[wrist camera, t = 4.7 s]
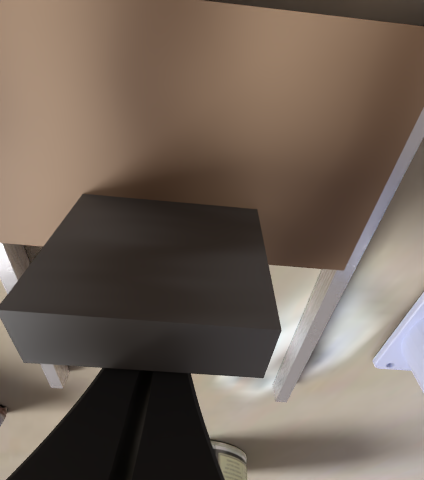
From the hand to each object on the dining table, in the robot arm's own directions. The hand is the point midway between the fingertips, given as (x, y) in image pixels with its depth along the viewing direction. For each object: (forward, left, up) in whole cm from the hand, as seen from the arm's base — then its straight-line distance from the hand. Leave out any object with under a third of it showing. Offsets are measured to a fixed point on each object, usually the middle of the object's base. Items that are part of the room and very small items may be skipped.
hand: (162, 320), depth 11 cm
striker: (0, -5, -4) cm, 7 cm away
